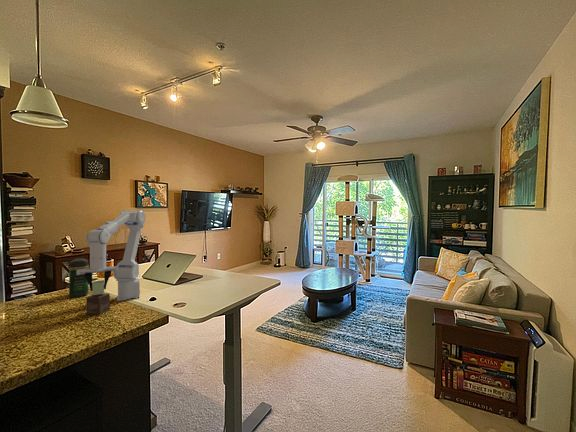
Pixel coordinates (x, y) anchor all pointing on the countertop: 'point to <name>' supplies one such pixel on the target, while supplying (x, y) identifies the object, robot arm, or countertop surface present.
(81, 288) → the coffee jar
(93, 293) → the sage block
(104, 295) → the box
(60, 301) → the countertop surface
